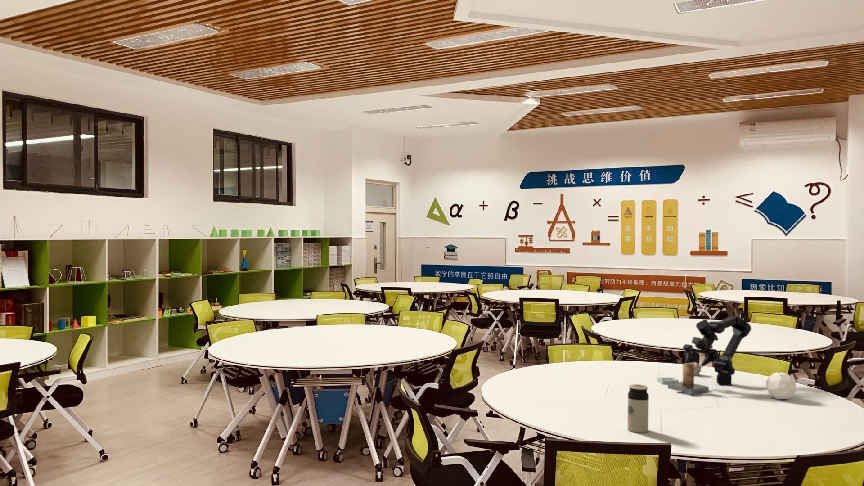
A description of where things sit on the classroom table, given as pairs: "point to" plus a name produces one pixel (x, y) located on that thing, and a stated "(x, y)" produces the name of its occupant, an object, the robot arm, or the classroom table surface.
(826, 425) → the classroom table surface
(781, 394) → the geodesic sphere
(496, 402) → the classroom table surface
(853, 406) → the classroom table surface
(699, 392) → the hub plate
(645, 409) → the travel mug
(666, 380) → the rest block
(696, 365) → the spiky grey ball
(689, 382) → the knob
